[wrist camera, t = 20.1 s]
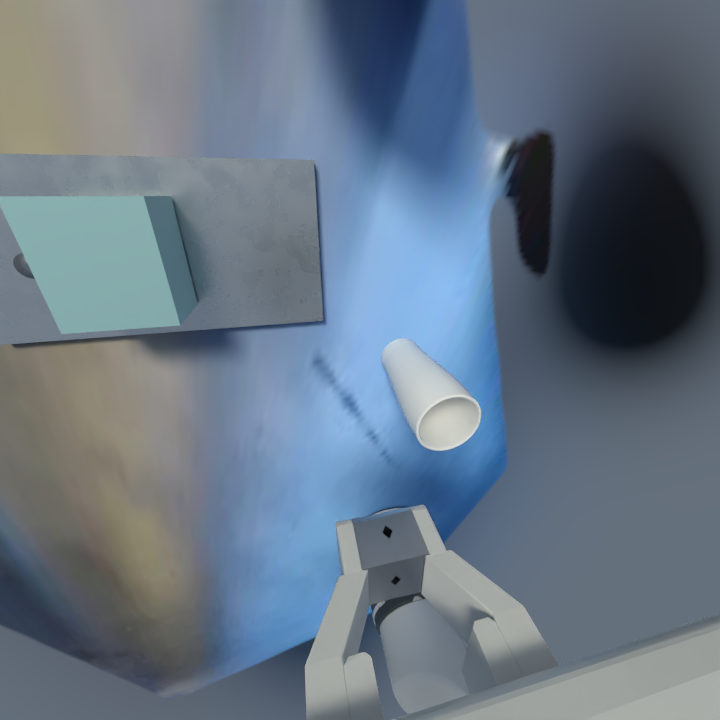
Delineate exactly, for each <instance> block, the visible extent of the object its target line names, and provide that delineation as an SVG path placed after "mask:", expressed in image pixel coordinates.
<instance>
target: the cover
mask: <svg viewBox="0 0 720 720" xmlns="http://www.w3.org/2000/svg"><path fill="white" fill-rule="evenodd" d="M0 207H1V209H2V211H3V213H4V215H5V217H6V219H7V221H8V223H9V226H10V228H11V230H12V232H13V234H14V236H15V238H16V240H17V242H18V244H19V246H20V249H21V251H22V253H23V255H24V257H25V259H26V261H27V263H28V265H29V267H30V269H31V272H32V274H33V276H34V278H35V280H36V282H37V284H38V286H39V288H40V290H41V292H42V295H43V297H44V299H45V301H46V303H47V305H48V307H49V309H50V311H51V313H52V315H53V318H54V320H55V322H56V324H57V326H58V328H59V330H60V332H61V334H69V333H83V332H97V331H111V330H125V329H139V328H153V327H167V326H180V325H181V324H182V323H183V322H184V320H185V319H186V318H187V317H188V315H189V314H190V313H191V312H192V310H193V309H194V308H195V307H196V305H197V304H198V303H197V299H196V295H195V291H194V287H193V283H192V279H191V275H190V271H189V267H188V263H187V259H186V255H185V251H184V247H183V243H182V239H181V235H180V231H179V227H178V223H177V219H176V215H175V211H174V207H173V203H172V199H171V196H0Z"/></svg>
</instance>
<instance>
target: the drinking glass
mask: <svg viewBox="0 0 720 720" xmlns="http://www.w3.org/2000/svg"><path fill="white" fill-rule="evenodd" d="M381 362H382V365H383V367H384V369H385V371H386V373H387V375H388V378H389V380H390V383H391V385H392V388H393V390H394V393H395V395H396V398H397V400H398V403H399V406H400V408H401V410H402V413H403V415H404V417H405V419H406V421H407V423H408V425H409V426H410V428H411V430H412V432H413V433H414V435H415V436H416V438H417V439H418V441H419V442H420V444H421V445H423V446H424V447H425V448H427V449H430V450H434V451H444V450H449V449H452V448H455V447H457V446H459V445H461V444H463V443H464V442H466V441H467V440H468V439H469V438H470V437H471V436H472V435H473V434H474V433H475V431H476V430H477V428H478V426H479V424H480V421H481V408H480V406H479V404H478V402H477V401H476V400H475V399H474V397H473V396H472V395H471V394H470V393H469V391H468V390H467V389H466V388H465V387H464V386H463V385H462V384H461V383H460V382H459V381H458V380H457V379H456V378H455V377H454V376H453V375H452V374H451V373H449V372H448V371H447V370H446V369H445V368H443V367H442V366H441V365H440V364H438V363H437V362H436V361H435V360H434V359H432V358H431V357H430V356H429V355H428V354H427V353H425V352H424V351H423V350H422V349H421V348H420V347H419V346H418V345H417V344H416V343H415V342H414V341H412V340H410V339H407V338H399V339H395V340H393V341H391V342H390V343H389V344H388V345H387V346H386V347H385V348H384V350H383V352H382V356H381Z"/></svg>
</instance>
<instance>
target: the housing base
mask: <svg viewBox="0 0 720 720" xmlns="http://www.w3.org/2000/svg"><path fill="white" fill-rule="evenodd" d="M0 196H171V199H172V203H173V207H174V211H175V215H176V219H177V223H178V227H179V231H180V235H181V239H182V243H183V247H184V251H185V255H186V259H187V263H188V267H189V271H190V275H191V279H192V283H193V287H194V291H195V295H196V299H197V303H198V304H197V305H196V307H195V308H194V309H193V310H192V312H191V313H190V314H189V315H188V317H187V318H186V319H185V320H184V322H183V323H182V324H181V325H180V326H167V327H153V328H139V329H125V330H111V331H97V332H83V333H69V334H61V332H60V330H59V328H58V326H57V324H56V322H55V320H54V318H53V315H52V313H51V311H50V309H49V307H48V305H47V303H46V301H45V299H44V297H43V295H42V292H41V290H40V288H39V286H38V284H37V282H36V280H35V278H34V276H33V274H32V272H31V269H30V267H29V265H28V263H27V261H26V259H25V257H24V255H23V253H22V251H21V249H20V246H19V244H18V242H17V240H16V238H15V236H14V234H13V232H12V230H11V228H10V226H9V223H8V221H7V219H6V217H5V215H4V213H3V211H2V209H1V207H0V345H6V344H19V343H33V342H46V341H59V340H73V339H86V338H100V337H113V336H126V335H140V334H153V333H166V332H180V331H193V330H207V329H220V328H233V327H247V326H260V325H273V324H287V323H300V322H314V321H323V306H322V289H321V272H320V255H319V238H318V221H317V204H316V187H315V170H314V160H293V159H242V158H191V157H140V156H89V155H38V154H0Z"/></svg>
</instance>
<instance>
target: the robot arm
mask: <svg viewBox="0 0 720 720" xmlns="http://www.w3.org/2000/svg"><path fill="white" fill-rule="evenodd" d="M336 533H337V545H338V555H339V563H340V570H341V576H339V578H338V581H337V583H336V586H335V589H334V591H333V594H332V597H331V599H330V602H329V604H328V607H327V610H326V612H325V615H324V618H323V620H322V623H321V625H320V628H319V631H318V633H317V636H316V639H315V641H314V644H313V646H312V649H311V652H310V655H309V657H308V660H307V662H306V665H305V683H306V709H307V710H306V711H307V720H384V719H383V714H382V709H381V704H380V699H379V694H378V689H377V684H376V679H375V674H374V668H373V664H372V659H371V656H369V655H368V654H367V653H365V652H362V653H359V654H357V653H358V649H359V645H360V641H361V637H362V633H363V629H364V625H365V621H366V617H367V613H368V609H369V605H371V609H372V613H373V620H374V623H375V626H376V629H377V631H378V633H379V634H380V635H381V639H382V643H383V648H384V653H385V657H386V662H387V666H388V671H389V675H390V680H391V684H392V689H393V693H394V695H395V697H396V699H397V701H398V703H399V704H400V706H401V707H402V708H403V709H404V710H405V711H406V712H407V713H408V715H405V716H401V717H398V718H395V719H392V720H720V613H718V614H715V615H712V616H710V617H706V618H703V619H700V620H697V621H694V622H691V623H688V624H685V625H682V626H678V627H675V628H672V629H669V630H666V631H663V632H660V633H657V634H654V635H651V636H648V637H645V638H641V639H638V640H636V641H632V642H629V643H626V644H623V645H620V646H617V647H614V648H611V649H608V650H605V651H602V652H598V653H595V654H592V655H589V656H586V657H583V658H580V659H577V660H574V661H571V662H568V663H565V664H561V665H558V663H557V662H556V660H555V658H554V656H553V655H552V653H551V651H550V650H549V648H548V646H547V645H546V643H545V641H544V640H543V638H542V636H541V635H540V633H539V631H538V630H537V628H536V626H535V625H534V623H533V621H532V620H531V618H530V616H529V615H528V613H527V611H526V609H525V608H524V606H523V605H521V604H520V603H519V602H517V601H516V600H515V599H514V598H512V597H511V596H510V595H509V594H507V593H506V592H505V591H503V590H502V589H501V588H500V587H498V586H497V585H496V584H494V583H493V582H492V581H490V580H489V579H488V578H487V577H485V576H484V575H483V574H481V573H480V572H479V571H478V570H476V569H475V568H474V567H473V566H471V565H470V564H469V563H467V562H466V561H465V560H464V559H462V558H461V557H459V556H458V555H457V554H456V553H455V552H453V551H452V550H448V551H447V550H446V548H445V546H444V544H443V542H442V540H441V537H440V535H439V533H438V531H437V529H436V526H435V523H434V521H432V518H431V516H430V514H429V512H428V510H427V508H426V506H425V505H423V504H422V505H418V506H413V507H406V508H392V509H387V510H384V511H381V512H378V513H376V514H373V515H371V516H365V517H360V518H354V519H348V520H343V521H338V522H336ZM461 637H462V638H463V640H464V641H465V642H466V643H468V648H467V649H466V647H465V644H464V642H463V640H462V638H461Z"/></svg>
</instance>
